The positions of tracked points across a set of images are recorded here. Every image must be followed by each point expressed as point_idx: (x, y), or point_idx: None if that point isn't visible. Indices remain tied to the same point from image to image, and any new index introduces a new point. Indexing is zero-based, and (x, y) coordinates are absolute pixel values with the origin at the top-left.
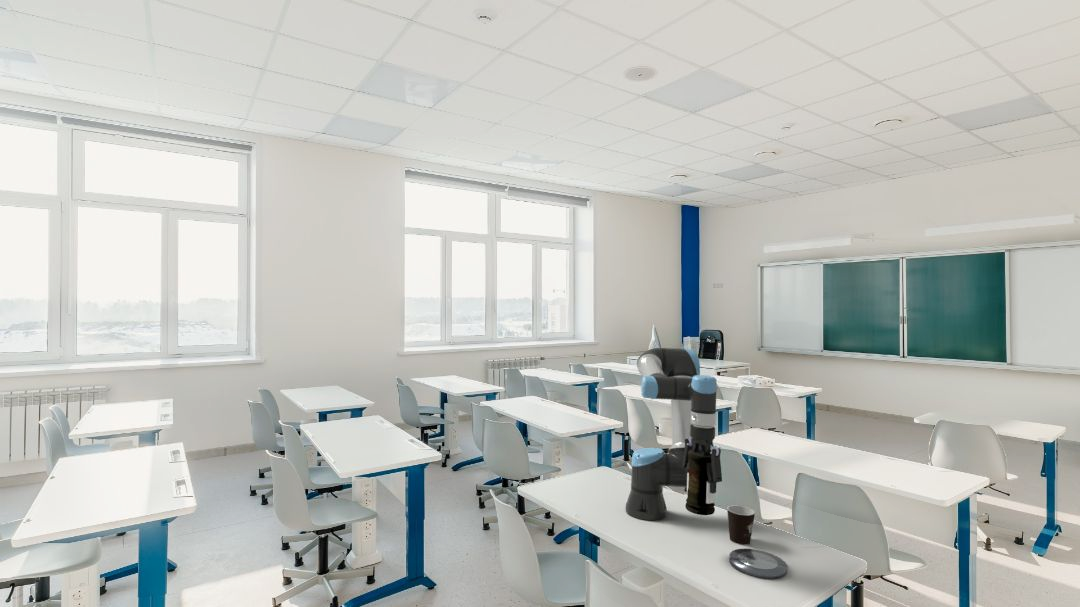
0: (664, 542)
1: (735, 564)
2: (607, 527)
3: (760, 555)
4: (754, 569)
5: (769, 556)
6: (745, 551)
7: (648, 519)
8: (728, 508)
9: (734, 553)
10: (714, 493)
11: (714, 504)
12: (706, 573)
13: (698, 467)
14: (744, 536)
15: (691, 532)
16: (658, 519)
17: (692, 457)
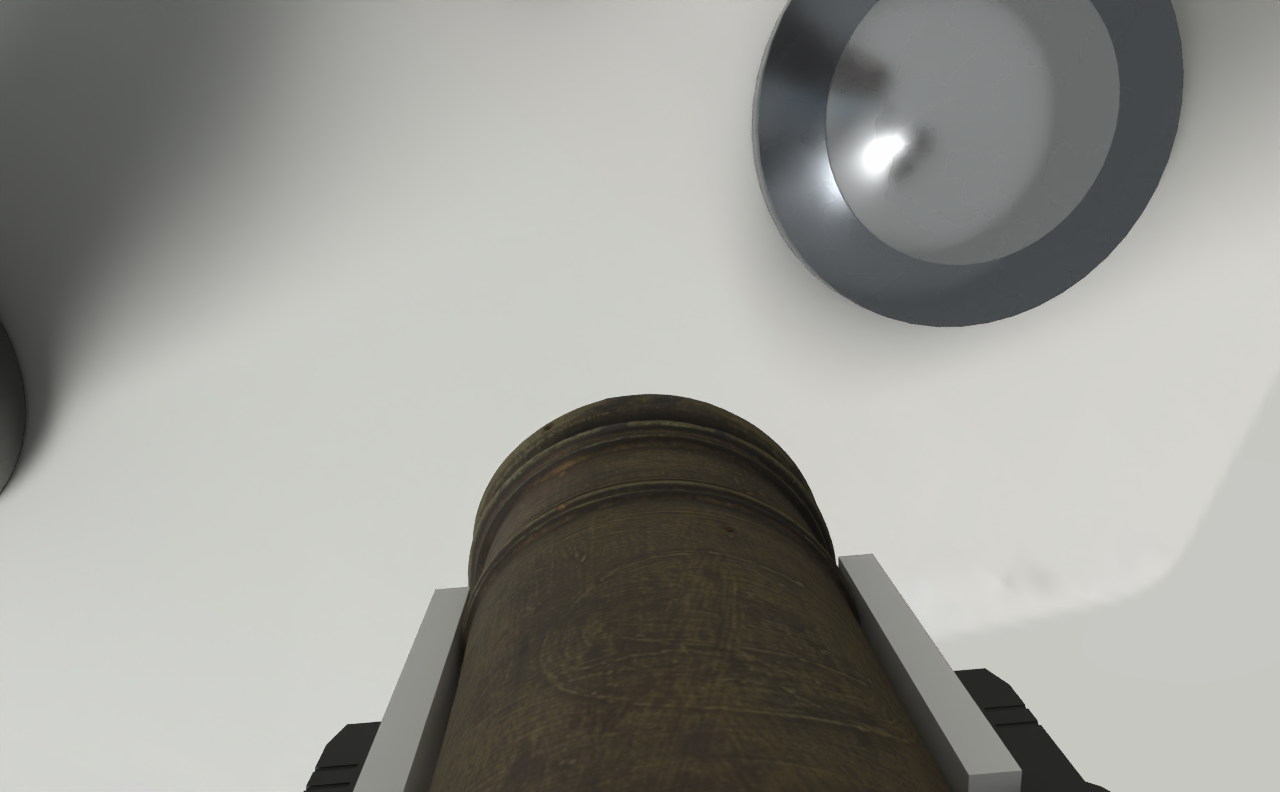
0: (433, 546)
1: (937, 325)
2: (124, 786)
3: (925, 27)
4: (1057, 252)
5: None
6: (814, 94)
7: (16, 454)
8: None
9: (809, 214)
10: (921, 632)
11: (782, 470)
12: (897, 539)
13: None
14: None
15: (305, 236)
16: (16, 366)
17: None
